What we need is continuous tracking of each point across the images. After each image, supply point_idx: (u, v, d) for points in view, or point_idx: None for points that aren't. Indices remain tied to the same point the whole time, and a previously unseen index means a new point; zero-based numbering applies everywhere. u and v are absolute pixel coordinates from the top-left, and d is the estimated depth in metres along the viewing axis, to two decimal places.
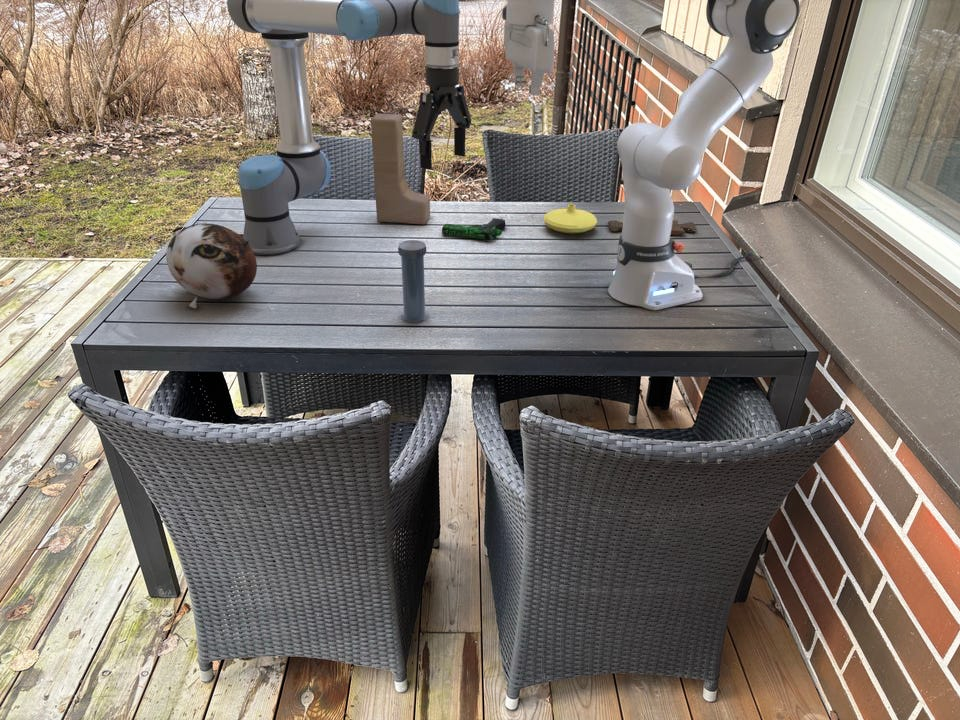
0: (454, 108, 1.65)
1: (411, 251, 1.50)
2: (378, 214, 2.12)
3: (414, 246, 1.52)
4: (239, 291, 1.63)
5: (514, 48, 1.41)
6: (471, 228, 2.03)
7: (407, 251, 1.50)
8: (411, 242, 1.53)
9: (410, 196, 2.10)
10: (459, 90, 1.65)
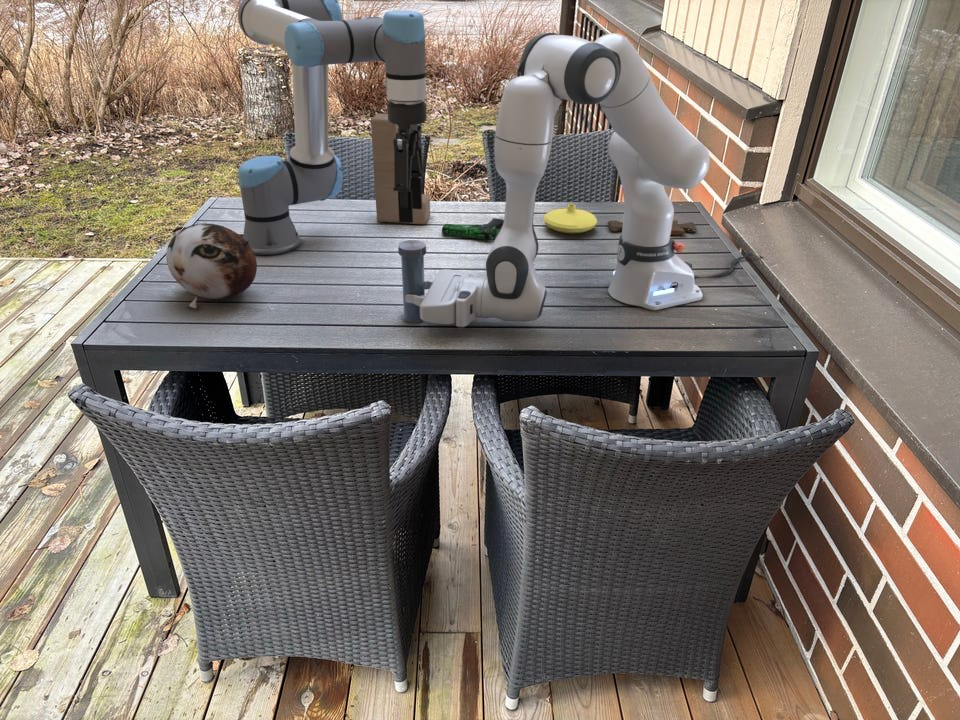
0: None
1: (411, 251, 1.50)
2: (378, 214, 2.12)
3: (414, 246, 1.52)
4: (239, 291, 1.63)
5: None
6: (471, 228, 2.03)
7: (407, 251, 1.50)
8: (411, 242, 1.54)
9: None
10: None
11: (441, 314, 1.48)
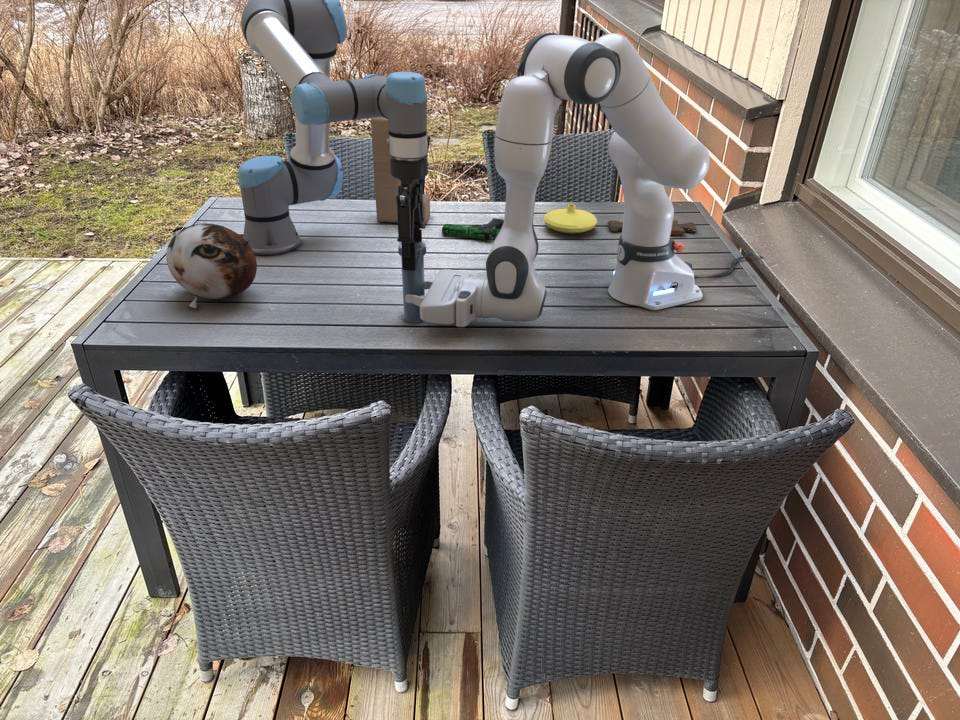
0: None
1: None
2: (378, 214, 2.12)
3: None
4: (239, 291, 1.63)
5: None
6: (471, 228, 2.03)
7: None
8: None
9: None
10: None
11: (441, 314, 1.48)
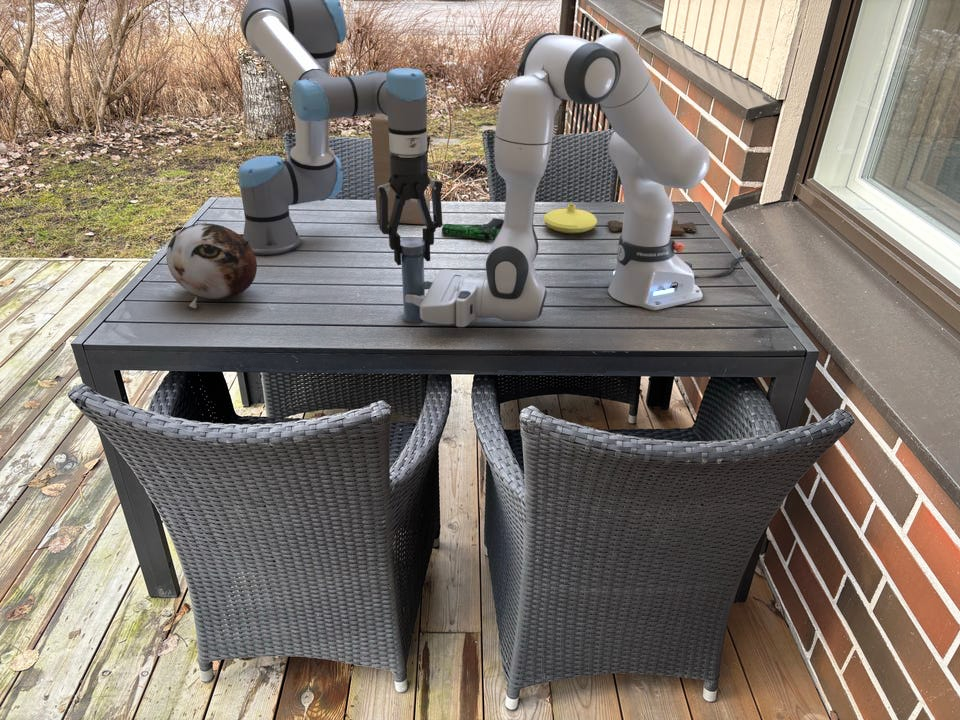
0: (419, 201, 1.47)
1: None
2: (378, 214, 2.12)
3: (413, 240, 1.53)
4: (239, 291, 1.63)
5: None
6: (471, 228, 2.03)
7: None
8: (405, 243, 1.51)
9: None
10: (436, 185, 1.47)
11: (441, 314, 1.48)
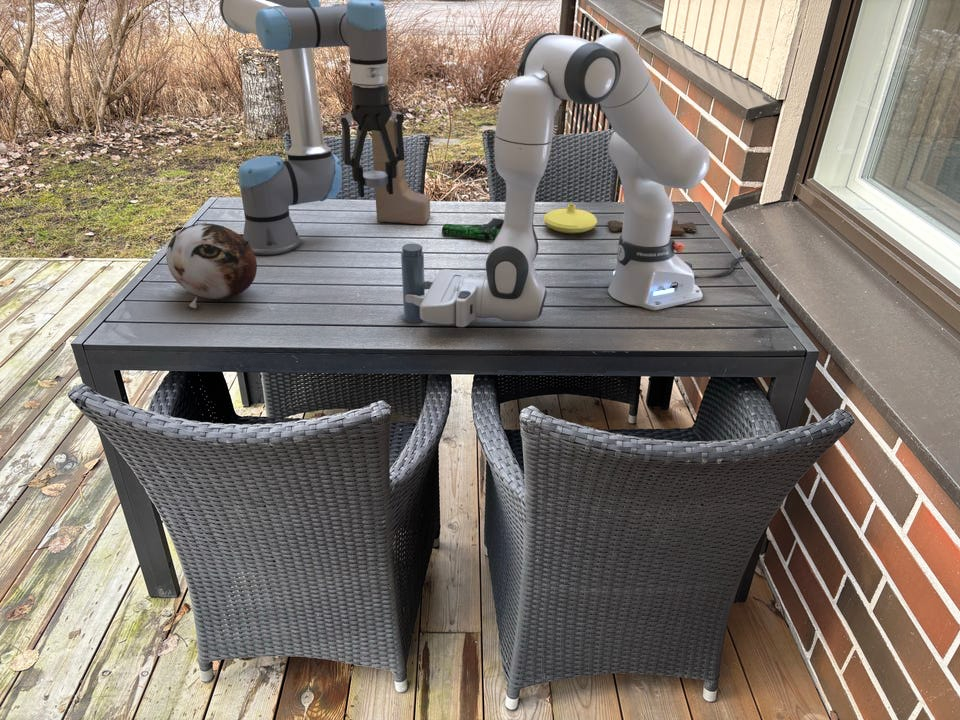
0: (381, 133, 1.51)
1: None
2: (378, 214, 2.12)
3: (376, 173, 1.57)
4: (239, 291, 1.63)
5: None
6: (471, 228, 2.03)
7: (387, 175, 1.57)
8: (368, 175, 1.56)
9: (410, 196, 2.10)
10: (397, 117, 1.51)
11: (441, 314, 1.48)
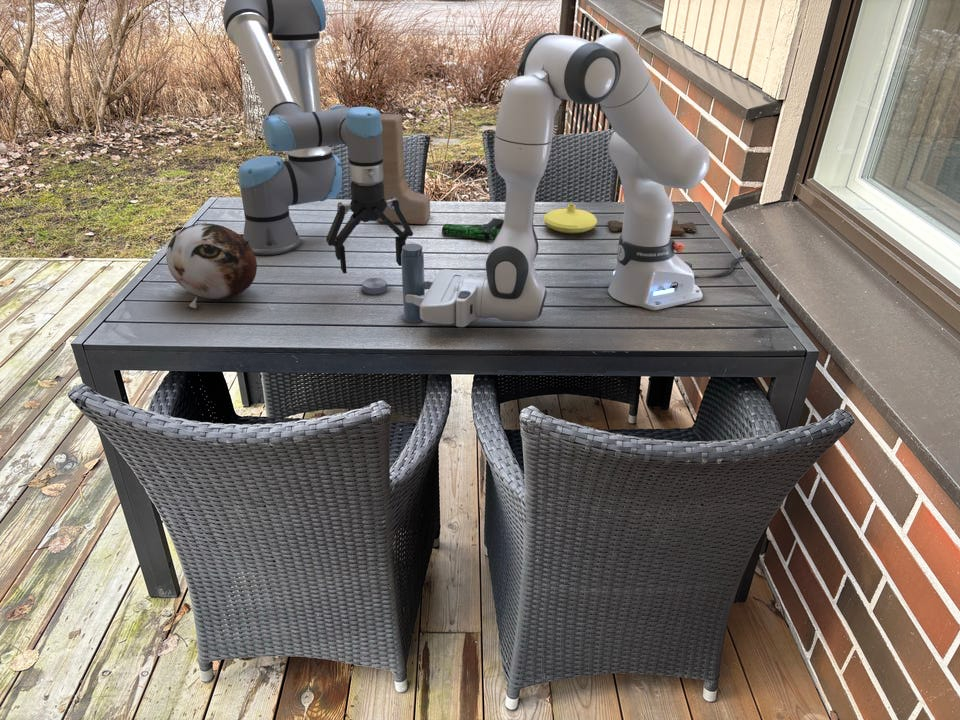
0: (383, 220, 1.65)
1: None
2: None
3: (376, 281, 1.73)
4: (239, 291, 1.63)
5: None
6: (471, 228, 2.03)
7: (386, 283, 1.73)
8: (369, 284, 1.72)
9: (410, 196, 2.10)
10: (393, 204, 1.64)
11: (441, 314, 1.48)
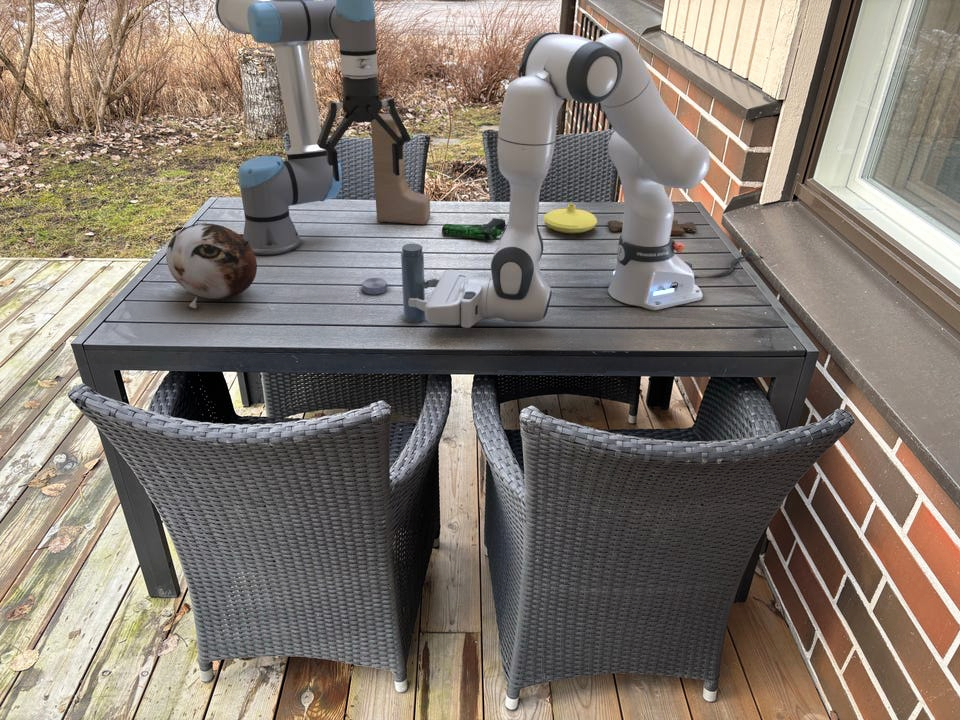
0: (378, 122, 1.53)
1: None
2: (378, 214, 2.12)
3: (376, 281, 1.73)
4: (239, 291, 1.63)
5: None
6: (471, 228, 2.03)
7: (386, 283, 1.73)
8: (369, 284, 1.72)
9: (410, 196, 2.10)
10: (388, 104, 1.53)
11: (446, 314, 1.48)
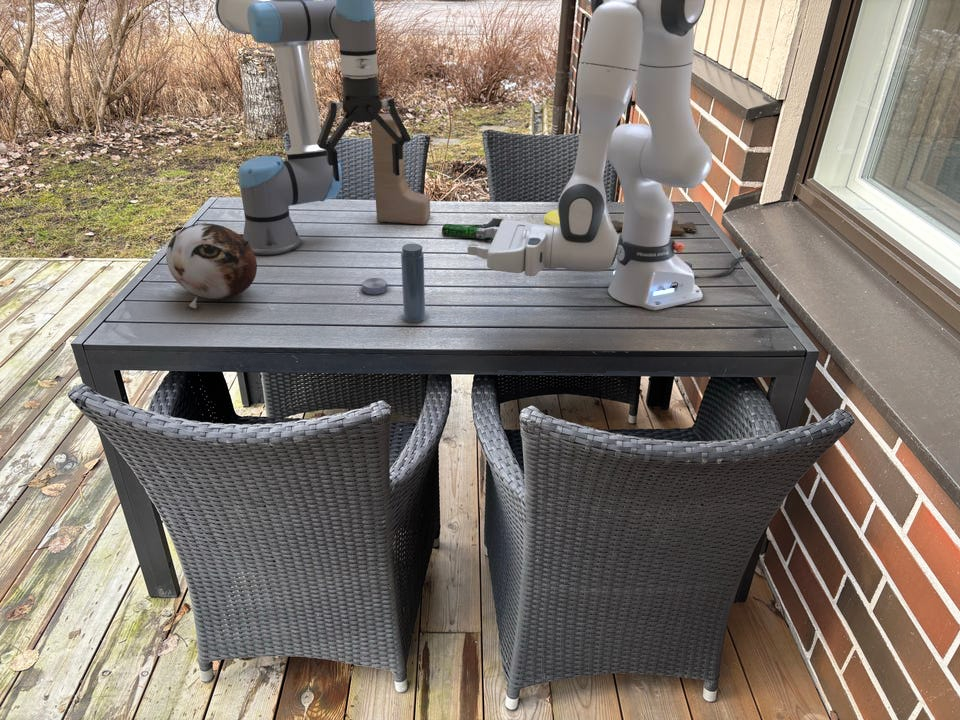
0: (378, 122, 1.53)
1: None
2: (378, 214, 2.12)
3: (376, 281, 1.73)
4: (239, 291, 1.63)
5: None
6: (471, 228, 2.03)
7: (386, 283, 1.73)
8: (369, 284, 1.72)
9: (410, 196, 2.10)
10: (388, 104, 1.53)
11: (510, 261, 1.40)
